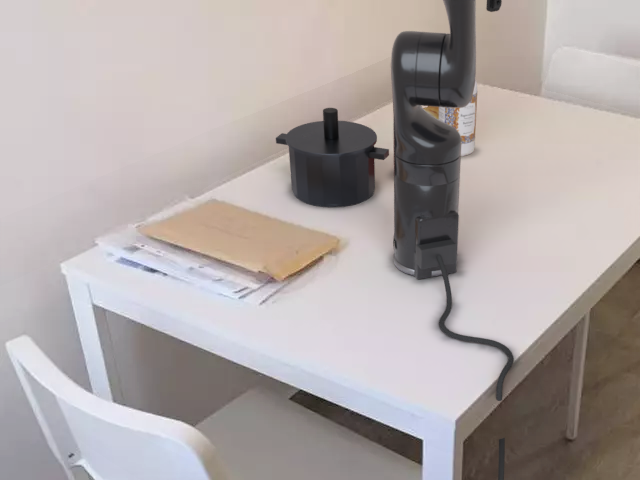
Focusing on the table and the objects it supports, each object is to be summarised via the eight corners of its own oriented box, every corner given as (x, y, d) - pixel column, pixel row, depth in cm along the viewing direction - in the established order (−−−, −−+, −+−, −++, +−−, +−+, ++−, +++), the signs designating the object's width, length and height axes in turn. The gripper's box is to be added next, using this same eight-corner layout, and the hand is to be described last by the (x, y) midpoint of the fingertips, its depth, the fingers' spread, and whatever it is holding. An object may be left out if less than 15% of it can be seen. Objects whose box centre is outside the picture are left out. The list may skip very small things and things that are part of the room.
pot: (371, 215, 143) (370, 163, 138) (263, 197, 147) (258, 146, 142) (401, 182, 154) (401, 133, 149) (299, 166, 158) (296, 117, 153)
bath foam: (451, 160, 163) (454, 51, 152) (430, 147, 167) (433, 40, 156) (481, 152, 166) (487, 45, 155) (461, 140, 171) (465, 35, 160)
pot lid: (356, 166, 138) (355, 132, 135) (270, 152, 142) (267, 119, 138) (390, 133, 150) (389, 101, 147) (309, 121, 154) (307, 90, 150)
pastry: (438, 113, 183) (439, 95, 181) (466, 120, 180) (467, 102, 178) (412, 125, 177) (413, 107, 174) (440, 133, 174) (441, 115, 171)
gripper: (430, -115, 132) (428, -2, 141) (493, -102, 122) (487, 18, 132) (468, -117, 136) (464, -7, 145) (532, -105, 126) (523, 11, 136)
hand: (475, 5), depth 138 cm, fingers open, 8 cm apart
